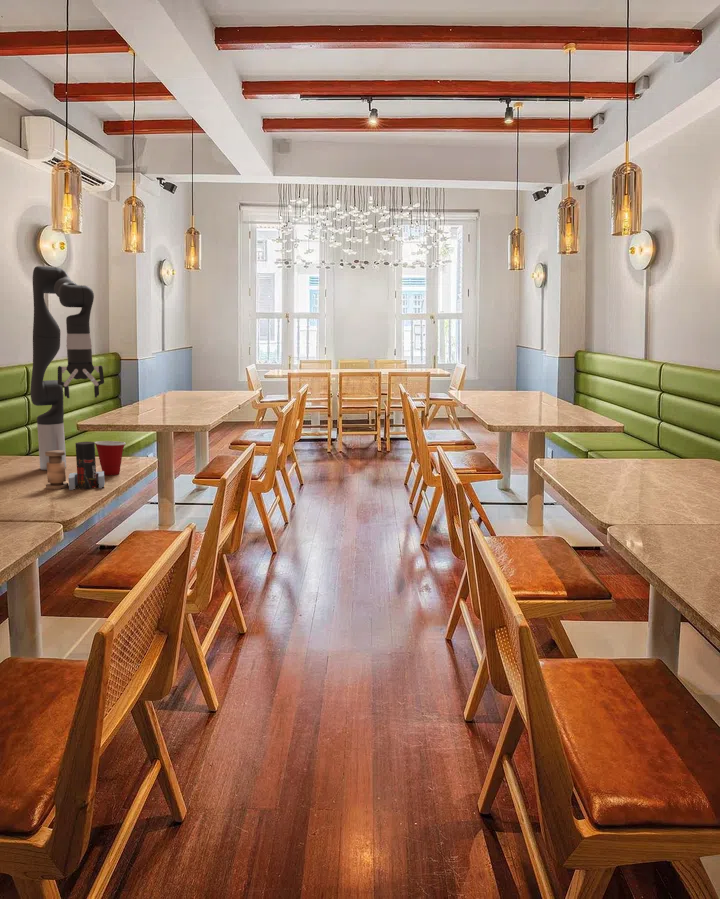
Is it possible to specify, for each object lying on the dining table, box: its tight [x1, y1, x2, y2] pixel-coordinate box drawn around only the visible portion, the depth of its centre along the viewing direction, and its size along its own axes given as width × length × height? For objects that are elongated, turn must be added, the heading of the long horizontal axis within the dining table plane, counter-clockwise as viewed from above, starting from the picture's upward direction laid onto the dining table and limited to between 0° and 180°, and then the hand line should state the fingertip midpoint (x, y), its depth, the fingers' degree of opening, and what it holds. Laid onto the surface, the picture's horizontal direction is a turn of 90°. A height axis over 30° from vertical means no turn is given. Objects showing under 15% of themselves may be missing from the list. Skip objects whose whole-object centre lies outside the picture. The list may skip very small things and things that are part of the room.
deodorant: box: [75, 441, 98, 490], centre depth 249 cm, size 6×6×15 cm
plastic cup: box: [94, 440, 126, 476], centre depth 272 cm, size 11×11×12 cm
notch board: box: [67, 470, 106, 491], centre depth 251 cm, size 9×11×4 cm
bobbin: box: [45, 450, 69, 490], centre depth 249 cm, size 7×7×12 cm
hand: (82, 397), depth 246 cm, fingers open, 8 cm apart
